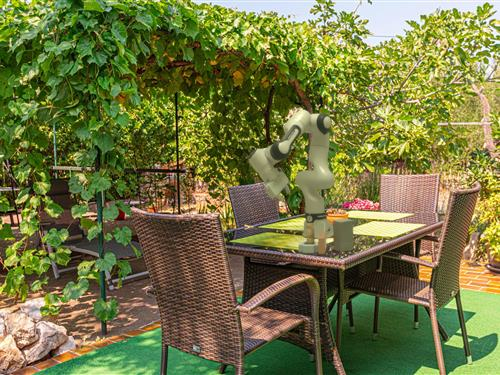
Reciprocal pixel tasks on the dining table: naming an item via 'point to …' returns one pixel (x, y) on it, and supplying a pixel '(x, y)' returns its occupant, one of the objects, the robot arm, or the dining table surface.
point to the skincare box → (343, 235)
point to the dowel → (310, 233)
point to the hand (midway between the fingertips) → (286, 196)
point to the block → (308, 247)
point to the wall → (322, 243)
